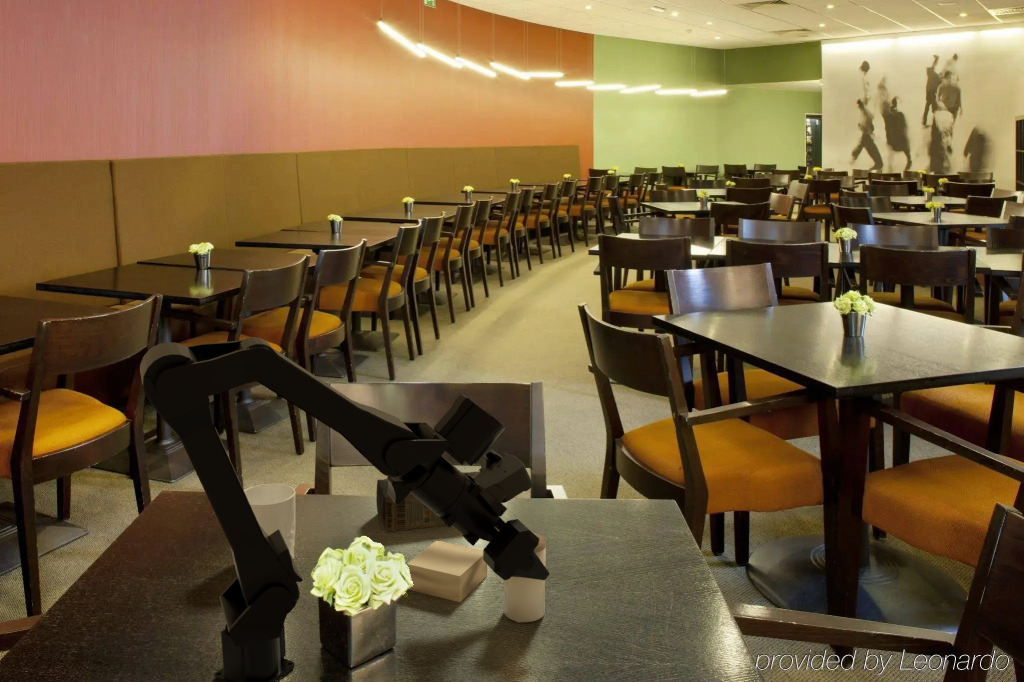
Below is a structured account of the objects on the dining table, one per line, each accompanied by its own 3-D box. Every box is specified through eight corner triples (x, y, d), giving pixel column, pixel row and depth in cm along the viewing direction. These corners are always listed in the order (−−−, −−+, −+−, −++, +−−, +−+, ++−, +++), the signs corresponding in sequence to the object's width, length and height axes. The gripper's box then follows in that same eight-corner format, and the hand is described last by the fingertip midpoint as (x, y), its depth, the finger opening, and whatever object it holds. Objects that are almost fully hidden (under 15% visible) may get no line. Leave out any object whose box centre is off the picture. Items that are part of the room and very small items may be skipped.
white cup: (283, 574, 125) (280, 507, 123) (231, 568, 127) (227, 502, 125) (307, 549, 133) (304, 485, 131) (257, 544, 134) (254, 481, 132)
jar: (513, 627, 112) (514, 552, 110) (497, 608, 117) (498, 535, 114) (551, 619, 114) (552, 545, 112) (534, 600, 119) (535, 529, 116)
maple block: (460, 604, 118) (459, 576, 117) (407, 591, 121) (407, 564, 120) (487, 577, 125) (487, 551, 124) (436, 566, 128) (436, 540, 128)
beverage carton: (502, 521, 144) (502, 482, 142) (382, 535, 138) (380, 495, 137) (489, 502, 151) (489, 465, 150) (374, 515, 146) (373, 477, 144)
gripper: (523, 466, 100) (607, 541, 107) (464, 418, 117) (540, 486, 123) (457, 544, 99) (547, 614, 105) (407, 484, 115) (487, 549, 122)
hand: (531, 560), depth 114 cm, fingers open, 9 cm apart
